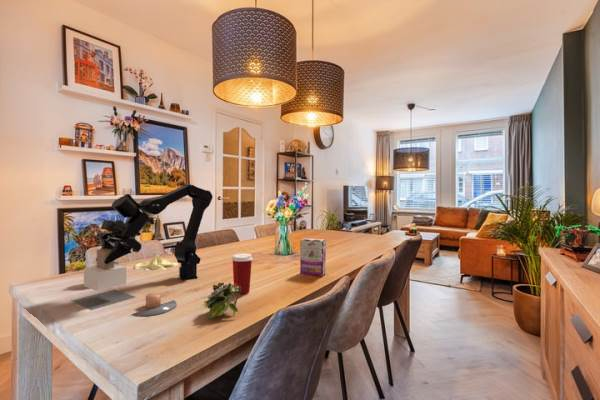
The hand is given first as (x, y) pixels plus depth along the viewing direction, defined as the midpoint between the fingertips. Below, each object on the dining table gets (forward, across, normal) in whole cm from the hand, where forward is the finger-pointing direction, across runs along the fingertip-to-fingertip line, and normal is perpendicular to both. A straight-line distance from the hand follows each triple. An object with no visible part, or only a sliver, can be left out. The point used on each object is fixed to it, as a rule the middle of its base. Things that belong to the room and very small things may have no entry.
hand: (100, 262), depth 101 cm
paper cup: (-14, +32, +33) cm, 48 cm away
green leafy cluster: (-2, +41, +21) cm, 46 cm away
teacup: (+1, -21, +18) cm, 28 cm away
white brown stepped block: (+5, 0, +7) cm, 8 cm away
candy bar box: (-41, +42, +60) cm, 84 cm away
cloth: (-18, -28, +38) cm, 50 cm away
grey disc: (+5, +18, +14) cm, 24 cm away
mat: (+9, -1, +10) cm, 14 cm away
